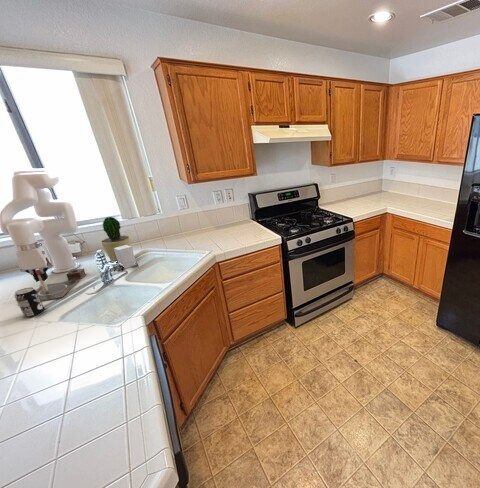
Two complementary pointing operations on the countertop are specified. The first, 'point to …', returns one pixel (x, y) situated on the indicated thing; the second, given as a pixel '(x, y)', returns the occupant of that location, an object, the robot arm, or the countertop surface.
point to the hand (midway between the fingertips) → (42, 280)
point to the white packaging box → (125, 256)
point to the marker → (42, 281)
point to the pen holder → (76, 274)
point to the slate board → (56, 290)
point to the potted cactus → (113, 237)
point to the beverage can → (29, 302)
